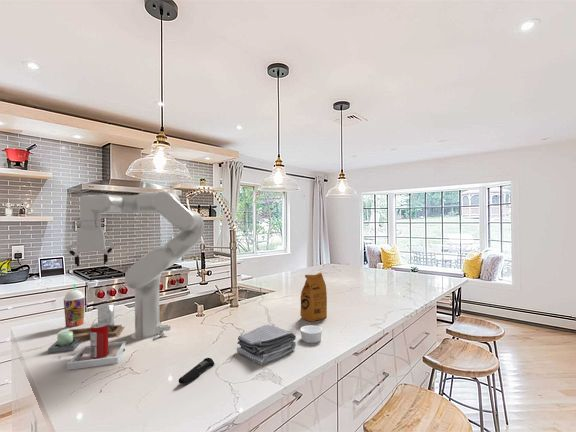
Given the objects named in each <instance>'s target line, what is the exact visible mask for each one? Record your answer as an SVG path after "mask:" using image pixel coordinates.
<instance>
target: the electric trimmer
mask: <svg viewBox="0 0 576 432" xmlns="http://www.w3.org/2000/svg"><path fill="white" fill-rule="evenodd" d="M214 366H215V361H214V360H213V358H211V357H206V358H204V359H203V360H201V361H200V362H198V364H197V365H195V366H194V367H193V368H191V369H190V370H189V371H187V372H186V373H185V374H184V375H182V376H180V377H179V379H178V383H179V384H180V385H181V384H182V385H187V384H188V383H190V382H192V381H194V380H195V379H197V378H198V377H200V376H201V374H202V373H203V372H205V371H206V370H207V369H209V368H210V367H214Z"/></svg>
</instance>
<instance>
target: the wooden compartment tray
mask: <svg viewBox="0 0 576 432" xmlns="http://www.w3.org/2000/svg"><path fill="white" fill-rule="evenodd" d="M124 329H125V326H123V325H122V324H114V332H108V339H113V338H119V337H120V335H121V333H122V332H123V330H124ZM90 330H91V327H84V328H83V327H82V328H74V329H73V328H72V329H69V330H68V331H72V332H73V339H75V338H81V342H86V341H90Z"/></svg>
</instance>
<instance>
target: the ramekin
mask: <svg viewBox="0 0 576 432" xmlns="http://www.w3.org/2000/svg"><path fill="white" fill-rule="evenodd" d="M322 332H323V328H322V327H320V326H318V325H317V326H316V325H309V324H308V325H303V326H301V327H300V336H301V340H302V342H305V343H307V344H317V343H319V342H320V341H322Z"/></svg>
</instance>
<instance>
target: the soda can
mask: <svg viewBox="0 0 576 432" xmlns="http://www.w3.org/2000/svg"><path fill="white" fill-rule="evenodd" d="M90 328H91V330H90V340H89V341H90V343H89V345H90V348H89V349H90V351H89V352H90V358H91V359H99V358H107V357H108V355H109V346H108V343H109V338H108V326H107V323H103V322H102V323H98V322H96V323H94V324H93V323H92V325H91V327H90ZM91 359H90V360H91Z"/></svg>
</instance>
